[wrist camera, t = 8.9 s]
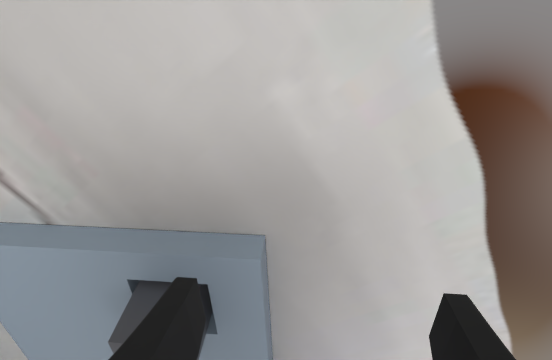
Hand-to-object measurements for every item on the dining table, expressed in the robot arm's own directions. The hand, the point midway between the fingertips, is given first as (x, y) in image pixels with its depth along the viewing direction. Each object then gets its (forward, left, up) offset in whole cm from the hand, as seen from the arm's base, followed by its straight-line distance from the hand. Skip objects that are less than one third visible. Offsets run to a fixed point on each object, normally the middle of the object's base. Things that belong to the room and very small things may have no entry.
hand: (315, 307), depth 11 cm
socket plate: (-13, +13, -9) cm, 21 cm away
